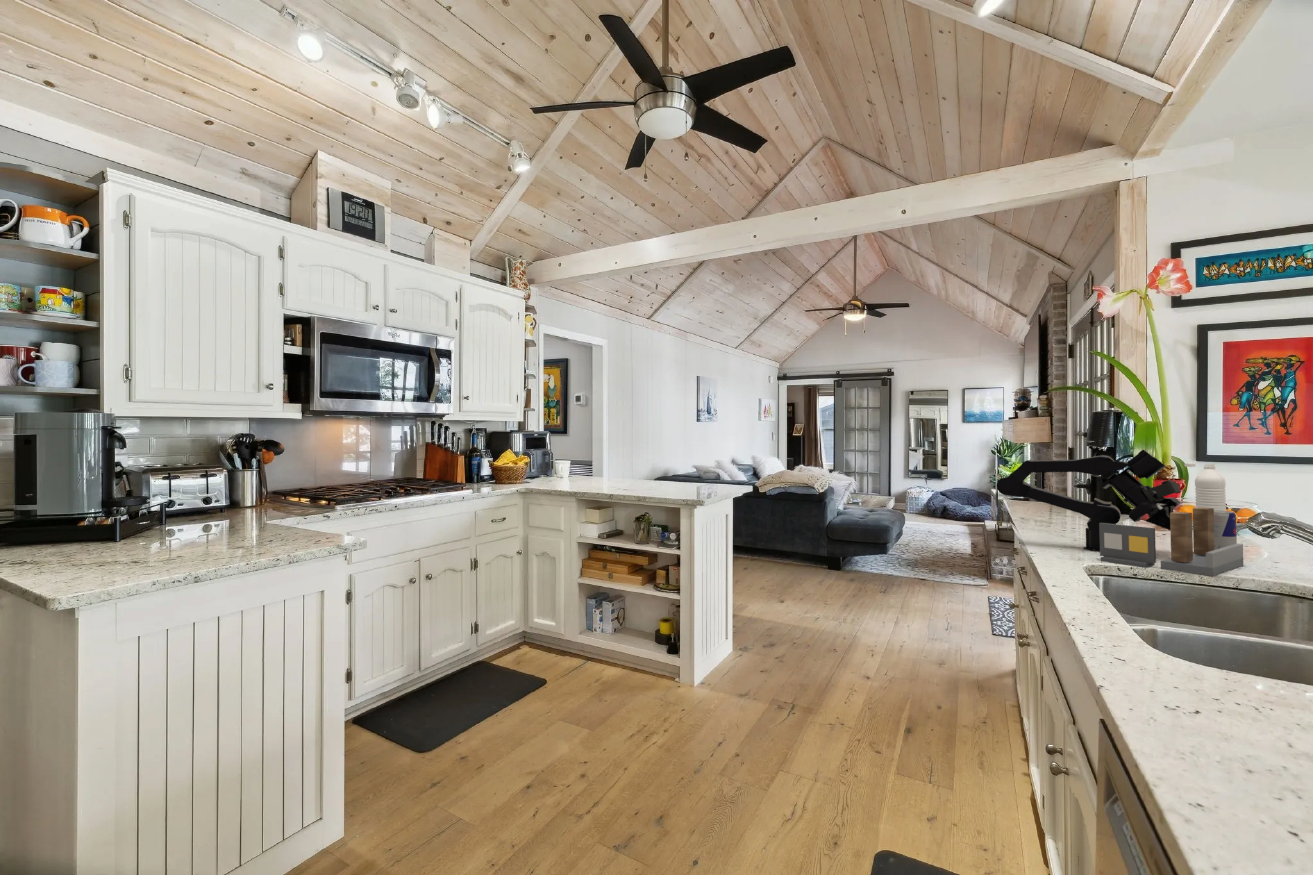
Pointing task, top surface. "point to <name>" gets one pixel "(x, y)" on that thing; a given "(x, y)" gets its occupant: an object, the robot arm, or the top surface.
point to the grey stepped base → (1209, 561)
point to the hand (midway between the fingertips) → (1182, 533)
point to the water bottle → (1209, 488)
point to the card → (1127, 545)
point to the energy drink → (1224, 529)
